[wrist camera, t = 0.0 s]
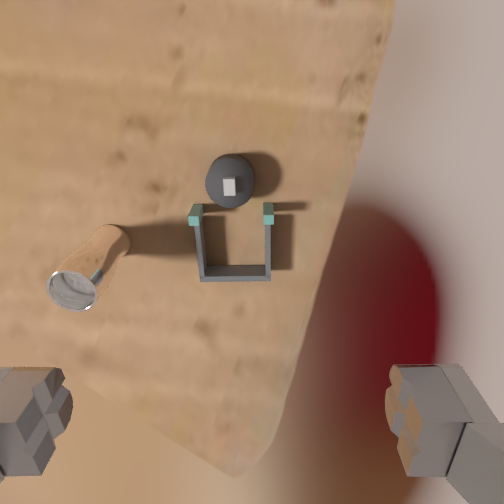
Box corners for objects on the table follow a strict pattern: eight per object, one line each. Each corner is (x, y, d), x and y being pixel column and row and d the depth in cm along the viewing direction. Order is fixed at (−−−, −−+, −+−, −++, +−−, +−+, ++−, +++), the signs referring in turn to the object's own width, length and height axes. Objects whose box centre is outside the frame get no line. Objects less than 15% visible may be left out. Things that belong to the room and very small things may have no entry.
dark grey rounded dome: (206, 154, 54) (202, 163, 50) (254, 153, 54) (253, 161, 50) (210, 199, 58) (206, 211, 53) (255, 198, 57) (254, 210, 53)
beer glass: (139, 234, 61) (106, 284, 47) (123, 266, 63) (88, 321, 50) (99, 214, 59) (53, 260, 46) (85, 247, 62) (37, 299, 49)
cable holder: (193, 204, 58) (188, 216, 54) (272, 202, 58) (273, 214, 53) (200, 271, 64) (196, 286, 59) (272, 270, 63) (273, 286, 59)
